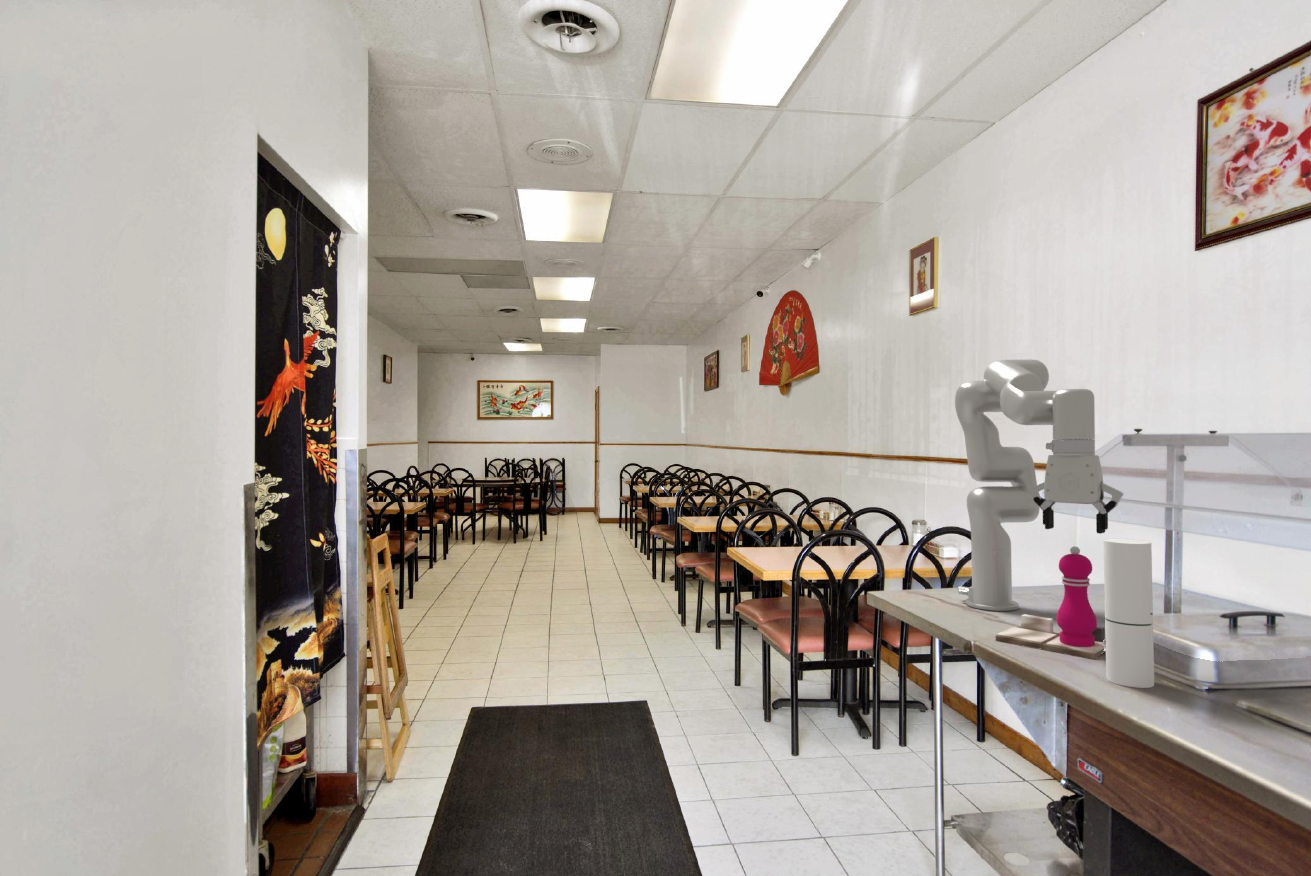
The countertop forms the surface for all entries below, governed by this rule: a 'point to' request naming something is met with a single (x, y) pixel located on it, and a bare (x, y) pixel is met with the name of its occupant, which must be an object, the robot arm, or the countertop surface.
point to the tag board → (1049, 637)
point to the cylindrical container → (1129, 612)
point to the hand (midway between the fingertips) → (1074, 530)
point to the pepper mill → (1076, 601)
